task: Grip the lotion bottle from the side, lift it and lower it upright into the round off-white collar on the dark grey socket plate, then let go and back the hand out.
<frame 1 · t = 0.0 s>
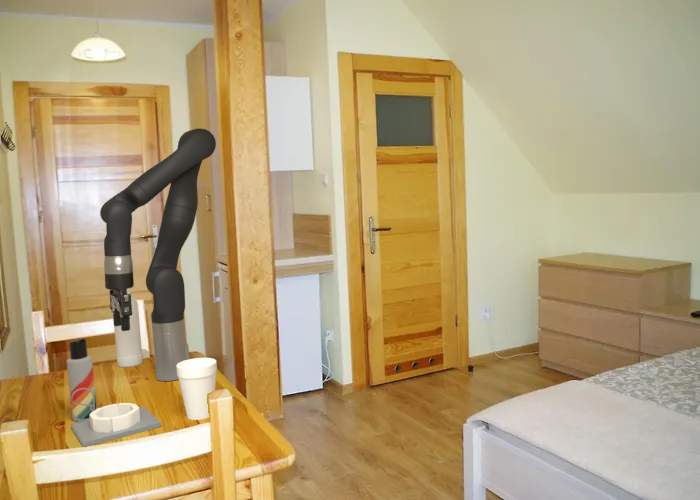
hand: (121, 328, 170), 17 cm above the table, tool pointing down, fingers open, 8 cm apart
socket: (115, 427, 141), on the table
foam cup: (200, 415, 147), on the table
lotion bottle: (85, 418, 149), on the table
bottle: (130, 364, 195), on the table
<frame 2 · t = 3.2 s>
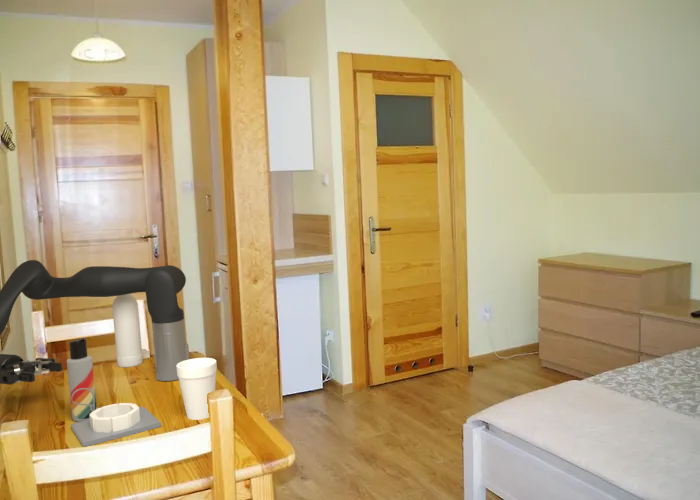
hand: (47, 372, 151), 11 cm above the table, tool horizontal, fingers open, 8 cm apart
nothing on the table moved.
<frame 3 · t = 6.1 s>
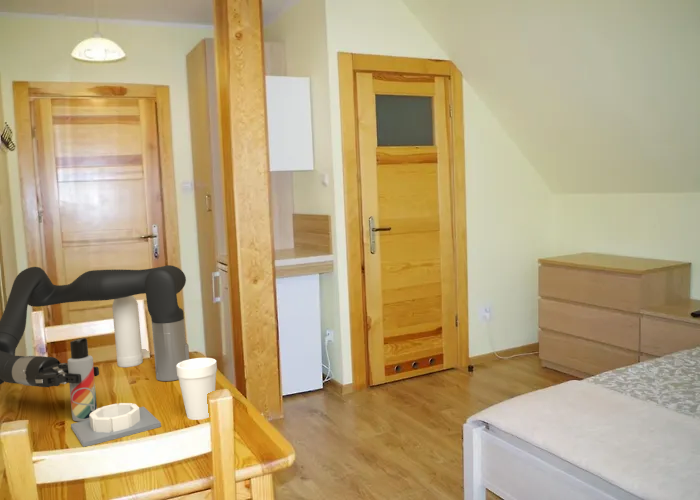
hand: (88, 375, 147), 11 cm above the table, tool horizontal, fingers closed on lotion bottle, 5 cm apart
lotion bottle: (85, 418, 149), on the table, touching gripper
everything else where it was.
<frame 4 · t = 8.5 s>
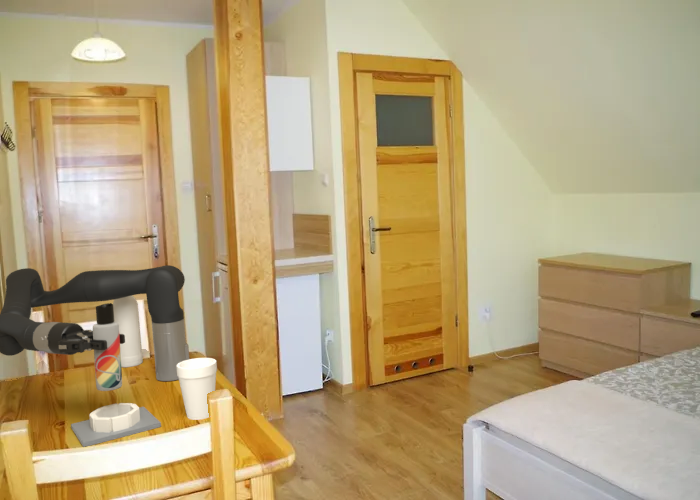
hand: (114, 342, 139), 21 cm above the table, tool horizontal, fingers closed on lotion bottle, 5 cm apart
lotion bottle: (109, 388, 141), point 9 cm above the table, touching gripper
everything else where it was.
when the fingers open (13 cm above the table, at t = 10.8 s): lotion bottle moves 2 cm, resting on socket.
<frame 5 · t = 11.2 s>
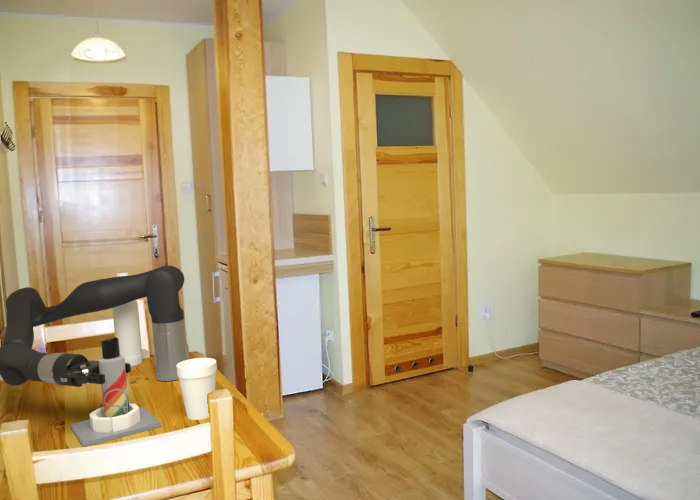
hand: (117, 373, 139), 13 cm above the table, tool horizontal, fingers open, 8 cm apart
lotion bottle: (117, 421, 142), point 1 cm above the table, touching gripper, socket
everything else where it was.
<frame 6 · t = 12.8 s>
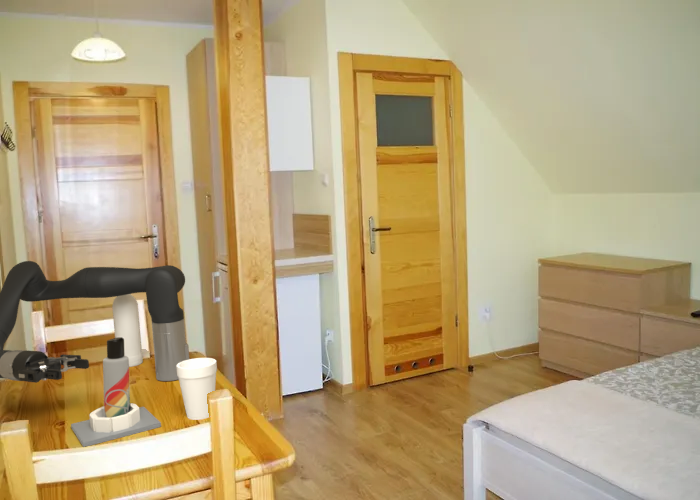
hand: (74, 369, 144), 13 cm above the table, tool horizontal, fingers open, 8 cm apart
lotion bottle: (117, 421, 142), point 1 cm above the table, touching socket
everything else where it was.
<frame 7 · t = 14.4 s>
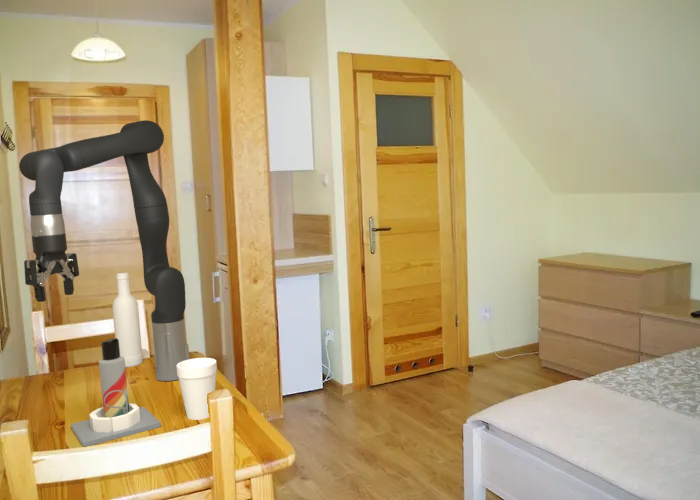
hand: (55, 298, 149), 30 cm above the table, tool pointing down, fingers open, 8 cm apart
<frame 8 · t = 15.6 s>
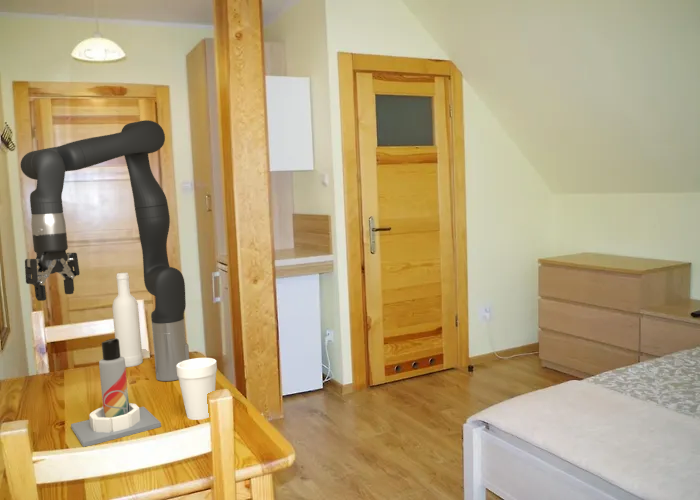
hand: (55, 297, 149), 30 cm above the table, tool pointing down, fingers open, 8 cm apart
nothing on the table moved.
at the end: lotion bottle 1.2 cm from the socket (horizontally); lotion bottle tilted 0°; lotion bottle point 0.8 cm above the table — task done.
